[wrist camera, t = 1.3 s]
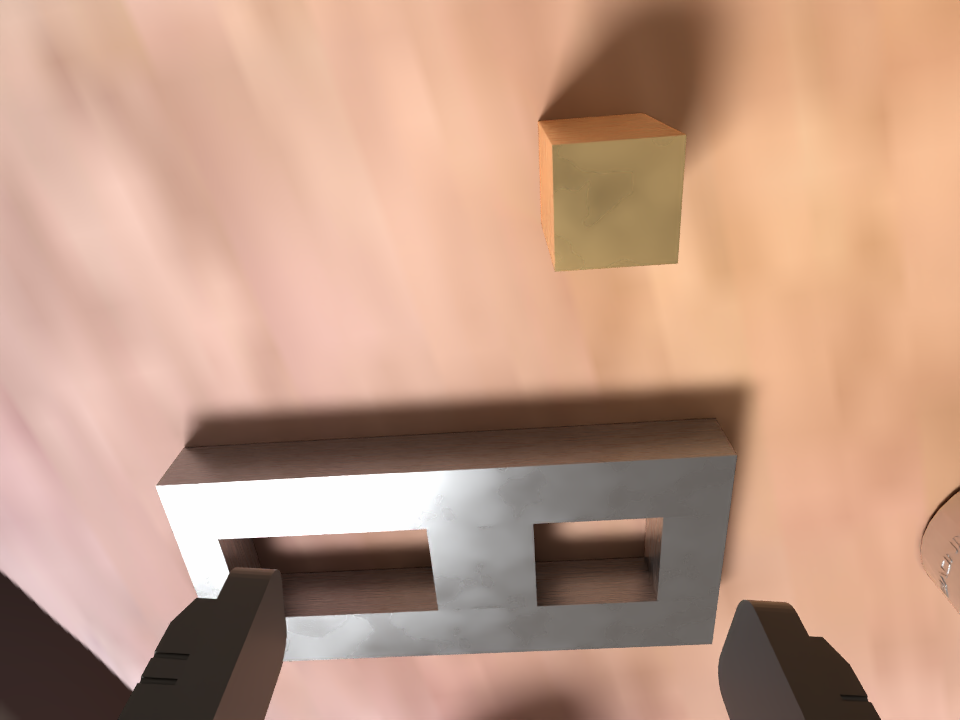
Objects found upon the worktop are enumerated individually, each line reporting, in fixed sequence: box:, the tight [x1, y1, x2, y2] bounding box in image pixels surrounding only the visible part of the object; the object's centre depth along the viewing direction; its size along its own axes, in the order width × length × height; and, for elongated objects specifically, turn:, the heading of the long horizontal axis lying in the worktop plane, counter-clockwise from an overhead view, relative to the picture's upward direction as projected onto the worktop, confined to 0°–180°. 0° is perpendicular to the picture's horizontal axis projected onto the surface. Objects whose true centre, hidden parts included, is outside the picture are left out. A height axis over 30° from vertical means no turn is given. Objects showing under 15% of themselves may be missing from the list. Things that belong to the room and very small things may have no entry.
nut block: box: [538, 113, 687, 272], centre depth 23 cm, size 4×4×6 cm
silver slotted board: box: [156, 418, 737, 661], centre depth 32 cm, size 26×12×3 cm, turn 94°
